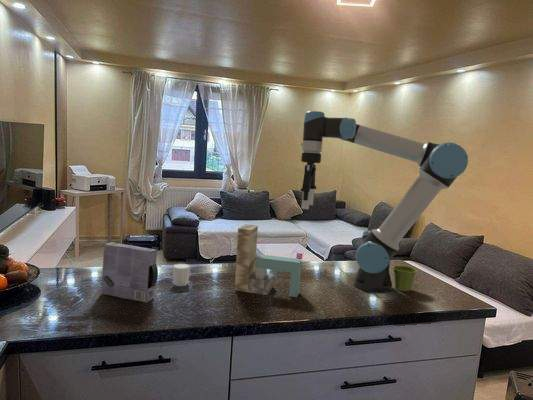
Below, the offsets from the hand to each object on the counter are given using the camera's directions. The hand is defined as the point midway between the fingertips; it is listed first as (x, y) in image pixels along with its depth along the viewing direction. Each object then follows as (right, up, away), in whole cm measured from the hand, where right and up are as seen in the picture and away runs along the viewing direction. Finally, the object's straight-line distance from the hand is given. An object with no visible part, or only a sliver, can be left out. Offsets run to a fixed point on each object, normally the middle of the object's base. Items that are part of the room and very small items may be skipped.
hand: (307, 206), depth 153 cm
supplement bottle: (-24, -29, +11) cm, 39 cm away
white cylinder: (-49, -30, -4) cm, 57 cm away
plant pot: (+40, -34, +6) cm, 53 cm away
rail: (-12, -32, -6) cm, 35 cm away
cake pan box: (-63, -31, -20) cm, 73 cm away
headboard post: (-21, -31, -4) cm, 38 cm away
